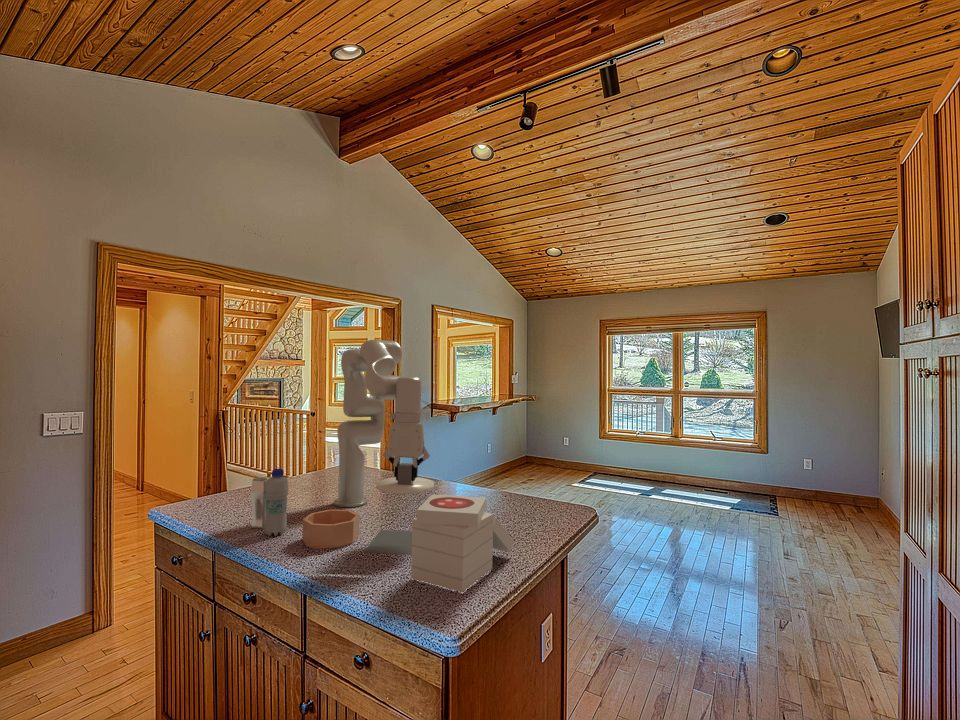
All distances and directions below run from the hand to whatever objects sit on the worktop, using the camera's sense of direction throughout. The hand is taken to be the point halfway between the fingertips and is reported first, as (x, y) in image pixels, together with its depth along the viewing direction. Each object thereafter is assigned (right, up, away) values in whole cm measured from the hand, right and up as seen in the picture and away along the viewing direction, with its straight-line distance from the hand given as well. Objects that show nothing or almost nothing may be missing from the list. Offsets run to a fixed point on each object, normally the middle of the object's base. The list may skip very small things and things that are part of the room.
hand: (405, 479), depth 140 cm
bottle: (-41, -18, +5) cm, 45 cm away
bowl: (-22, -18, 0) cm, 29 cm away
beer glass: (-49, -18, +12) cm, 54 cm away
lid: (0, -2, 0) cm, 2 cm away
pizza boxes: (+18, -19, -17) cm, 31 cm away
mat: (0, -19, -1) cm, 19 cm away
